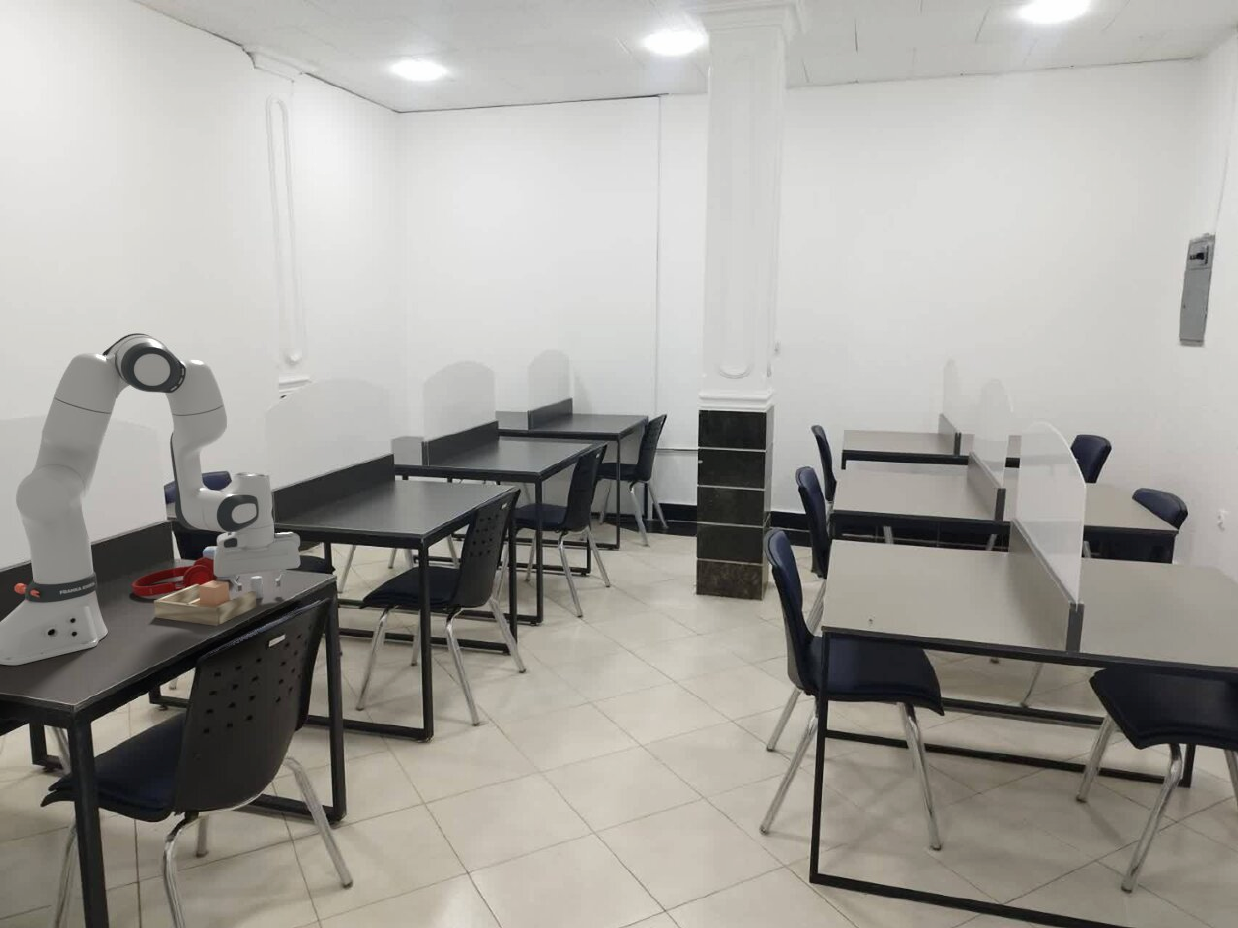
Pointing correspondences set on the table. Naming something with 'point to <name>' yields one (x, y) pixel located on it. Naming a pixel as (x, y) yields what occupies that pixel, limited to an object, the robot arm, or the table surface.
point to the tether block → (224, 591)
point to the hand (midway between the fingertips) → (259, 588)
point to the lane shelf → (201, 607)
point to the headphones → (191, 576)
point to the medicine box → (210, 554)
